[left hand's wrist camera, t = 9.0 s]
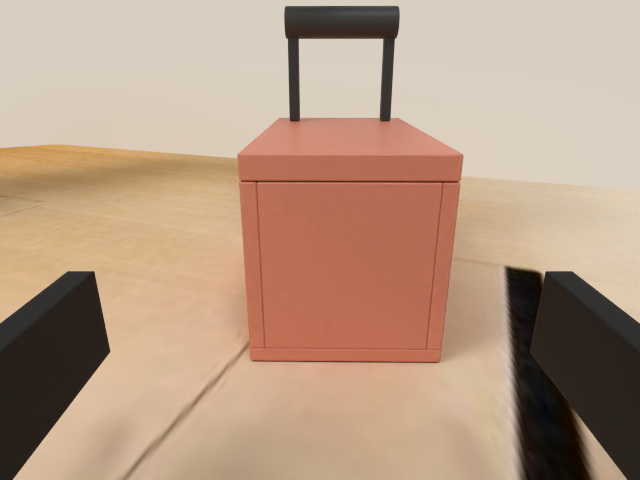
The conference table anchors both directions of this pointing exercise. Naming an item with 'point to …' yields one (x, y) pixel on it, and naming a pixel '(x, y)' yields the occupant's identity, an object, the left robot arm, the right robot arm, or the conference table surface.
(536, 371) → the conference table surface
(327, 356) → the chest
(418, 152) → the lid
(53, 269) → the conference table surface
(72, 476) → the conference table surface
